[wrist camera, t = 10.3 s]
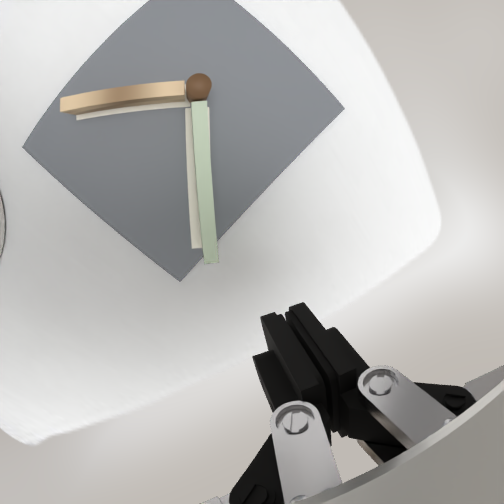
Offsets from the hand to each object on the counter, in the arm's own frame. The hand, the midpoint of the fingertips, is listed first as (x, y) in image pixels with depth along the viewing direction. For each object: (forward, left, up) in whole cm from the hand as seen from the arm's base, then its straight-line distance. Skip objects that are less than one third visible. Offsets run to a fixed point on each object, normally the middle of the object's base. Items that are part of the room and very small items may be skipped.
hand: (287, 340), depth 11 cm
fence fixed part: (+3, +12, -15) cm, 20 cm away
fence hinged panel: (+2, +5, -15) cm, 15 cm away
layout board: (+4, +9, -15) cm, 18 cm away
